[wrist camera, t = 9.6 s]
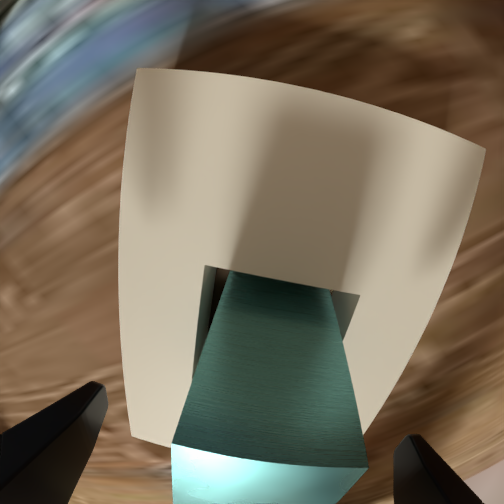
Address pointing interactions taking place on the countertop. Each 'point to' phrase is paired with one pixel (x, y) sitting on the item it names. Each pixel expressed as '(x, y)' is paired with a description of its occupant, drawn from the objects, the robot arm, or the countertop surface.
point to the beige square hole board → (279, 224)
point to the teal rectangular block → (269, 402)
